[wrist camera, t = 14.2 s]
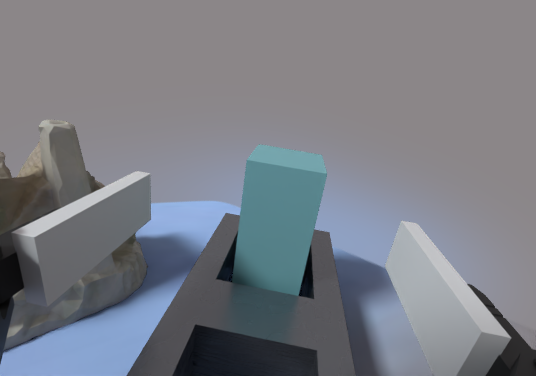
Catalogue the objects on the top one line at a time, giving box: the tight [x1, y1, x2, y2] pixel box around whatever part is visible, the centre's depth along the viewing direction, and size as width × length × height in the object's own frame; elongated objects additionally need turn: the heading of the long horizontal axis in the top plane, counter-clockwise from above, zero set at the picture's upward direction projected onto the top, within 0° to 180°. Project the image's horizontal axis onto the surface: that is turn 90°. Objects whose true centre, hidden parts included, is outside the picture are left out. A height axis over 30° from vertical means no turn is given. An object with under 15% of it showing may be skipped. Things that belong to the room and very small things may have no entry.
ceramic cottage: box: [0, 120, 148, 350], centre depth 19 cm, size 16×16×15 cm
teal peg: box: [232, 144, 327, 296], centre depth 20 cm, size 5×5×12 cm
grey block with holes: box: [127, 213, 356, 376], centre depth 16 cm, size 22×10×4 cm, turn 173°
